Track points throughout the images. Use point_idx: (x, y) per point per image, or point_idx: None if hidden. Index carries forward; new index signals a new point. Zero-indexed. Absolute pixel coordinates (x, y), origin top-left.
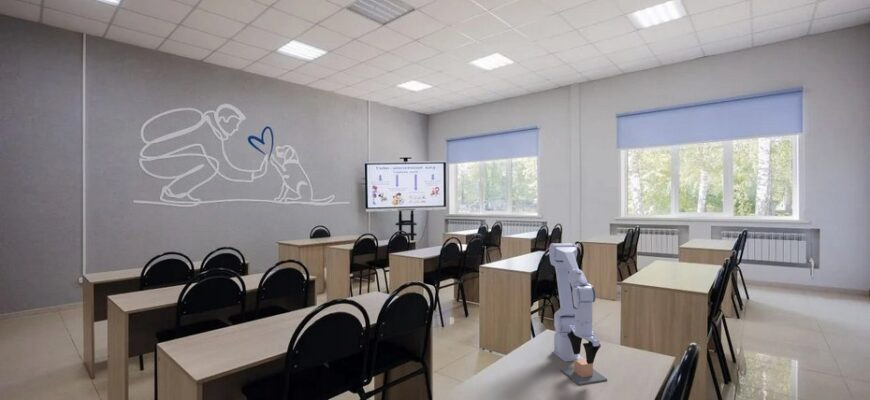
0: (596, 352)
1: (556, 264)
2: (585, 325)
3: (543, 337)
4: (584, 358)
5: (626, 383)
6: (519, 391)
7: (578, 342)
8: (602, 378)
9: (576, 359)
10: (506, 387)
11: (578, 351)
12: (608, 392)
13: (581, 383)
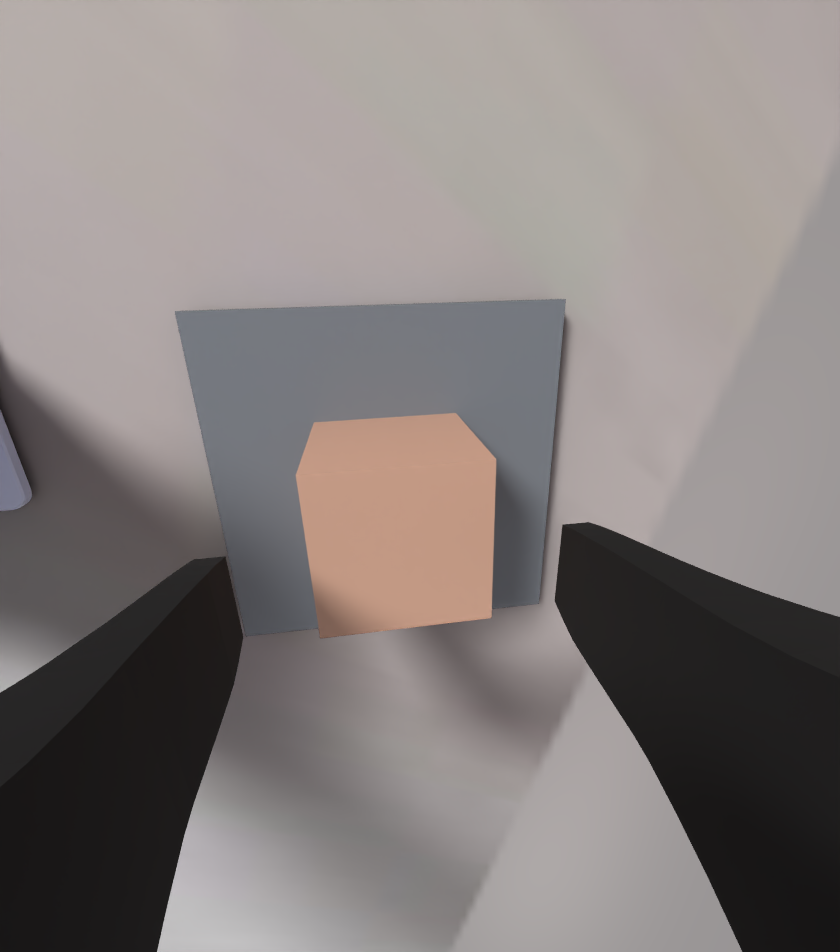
0: (808, 620)
1: None
2: None
3: None
4: (318, 495)
5: (673, 96)
6: (468, 893)
7: (122, 775)
8: (538, 347)
9: (328, 613)
10: (410, 933)
11: (215, 603)
12: (705, 424)
13: (538, 580)
